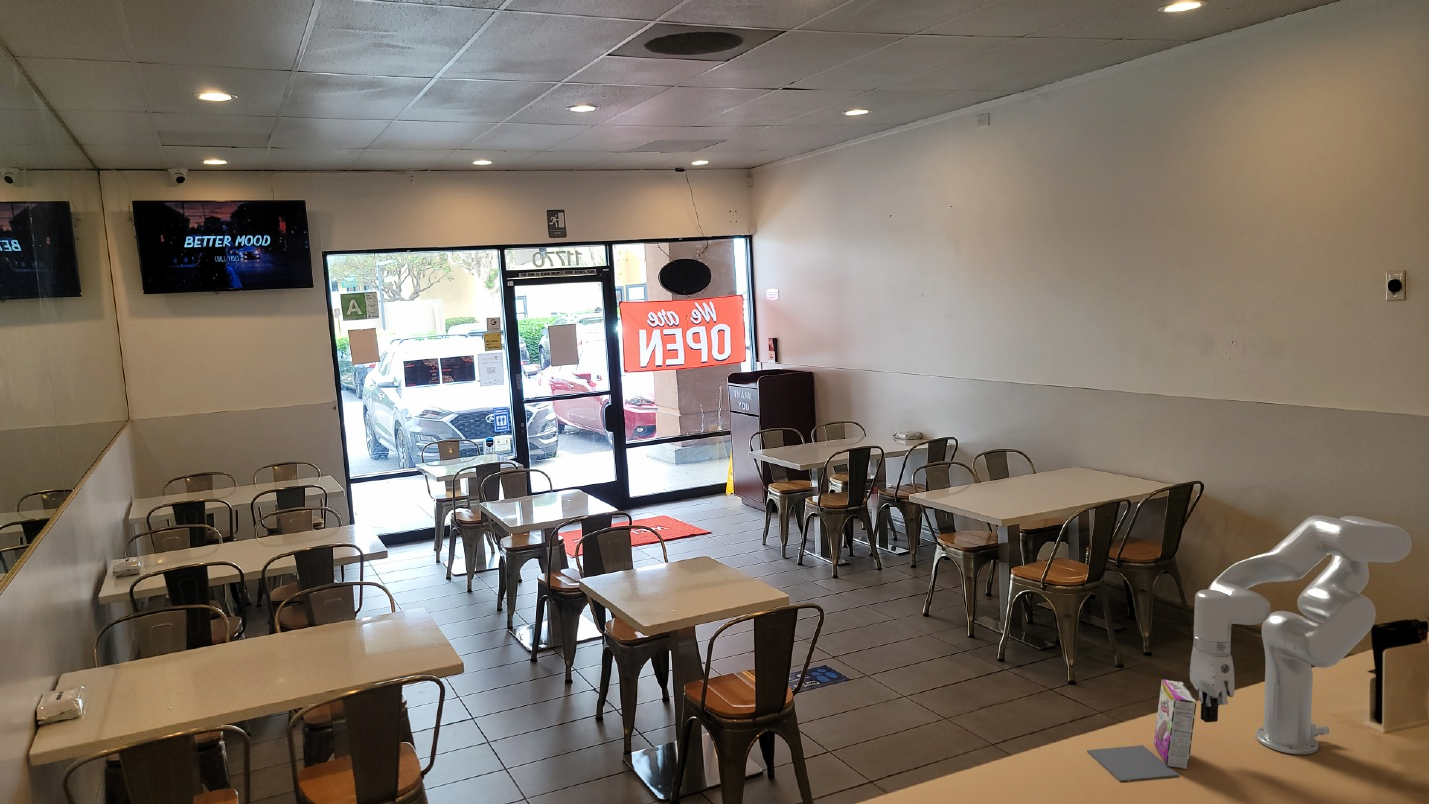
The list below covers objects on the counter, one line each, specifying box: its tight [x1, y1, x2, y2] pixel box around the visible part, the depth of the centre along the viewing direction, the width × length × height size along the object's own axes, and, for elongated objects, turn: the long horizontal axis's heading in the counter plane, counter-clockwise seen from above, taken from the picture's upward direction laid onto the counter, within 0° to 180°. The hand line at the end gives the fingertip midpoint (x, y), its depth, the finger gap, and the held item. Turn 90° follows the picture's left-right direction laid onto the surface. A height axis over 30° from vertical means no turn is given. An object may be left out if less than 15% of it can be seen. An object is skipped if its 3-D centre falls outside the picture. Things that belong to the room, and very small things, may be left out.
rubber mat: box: [1086, 744, 1180, 783], centre depth 210 cm, size 14×14×1 cm
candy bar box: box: [1153, 679, 1198, 770], centre depth 211 cm, size 11×5×16 cm, turn 168°
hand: (1209, 720), depth 212 cm, fingers closed
